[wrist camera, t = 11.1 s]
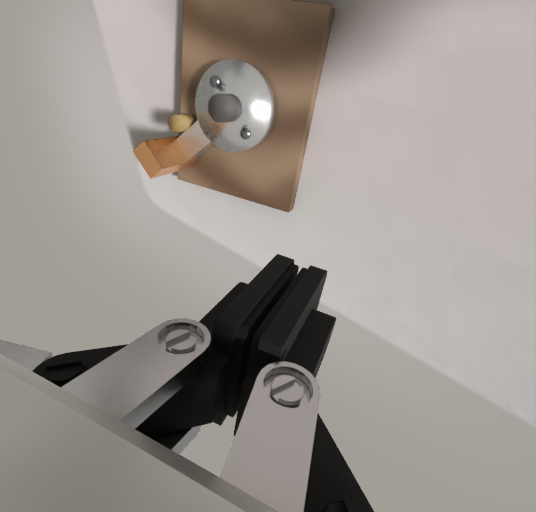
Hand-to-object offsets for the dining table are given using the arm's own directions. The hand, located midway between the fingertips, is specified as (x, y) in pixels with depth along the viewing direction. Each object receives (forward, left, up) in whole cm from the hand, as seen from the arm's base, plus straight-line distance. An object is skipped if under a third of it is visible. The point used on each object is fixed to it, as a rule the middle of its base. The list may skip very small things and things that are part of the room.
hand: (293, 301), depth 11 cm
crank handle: (-1, -16, -23) cm, 28 cm away
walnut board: (-3, -15, -25) cm, 29 cm away
